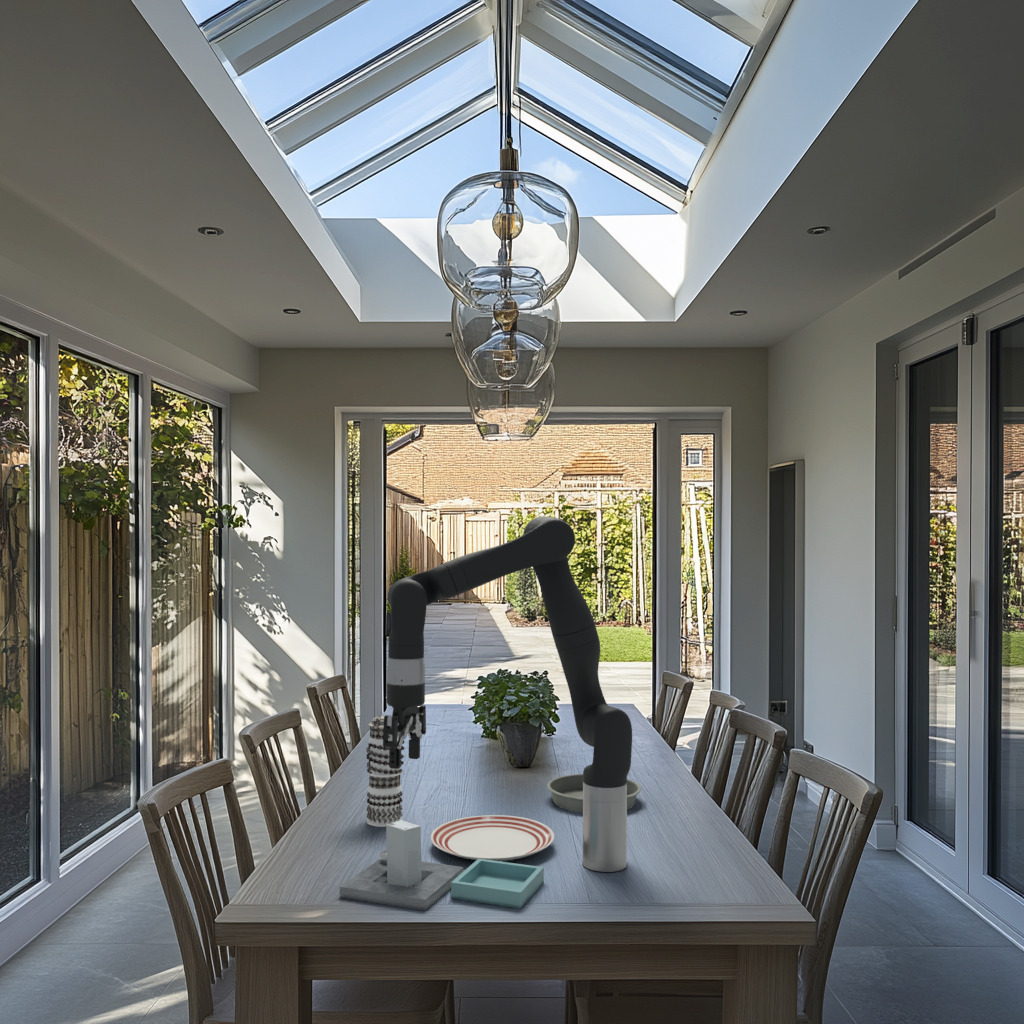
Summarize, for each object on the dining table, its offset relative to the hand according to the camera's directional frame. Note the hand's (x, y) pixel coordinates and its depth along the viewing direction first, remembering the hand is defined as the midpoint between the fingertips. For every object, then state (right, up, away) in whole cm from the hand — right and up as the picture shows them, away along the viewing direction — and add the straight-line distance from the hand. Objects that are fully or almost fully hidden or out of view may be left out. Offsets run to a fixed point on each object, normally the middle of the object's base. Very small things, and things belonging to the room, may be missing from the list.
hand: (404, 763), depth 179 cm
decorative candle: (-10, -26, +41) cm, 49 cm away
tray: (+18, -24, -2) cm, 30 cm away
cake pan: (+43, -27, +59) cm, 78 cm away
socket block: (0, -24, -1) cm, 24 cm away
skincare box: (0, -24, -1) cm, 24 cm away
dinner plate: (+17, -25, +23) cm, 38 cm away
